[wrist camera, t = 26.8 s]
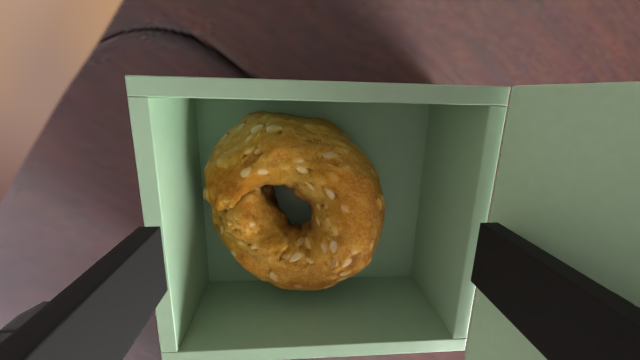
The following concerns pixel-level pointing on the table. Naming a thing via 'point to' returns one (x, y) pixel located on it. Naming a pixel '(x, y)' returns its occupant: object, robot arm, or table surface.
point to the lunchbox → (348, 295)
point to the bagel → (308, 184)
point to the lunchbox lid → (567, 194)
